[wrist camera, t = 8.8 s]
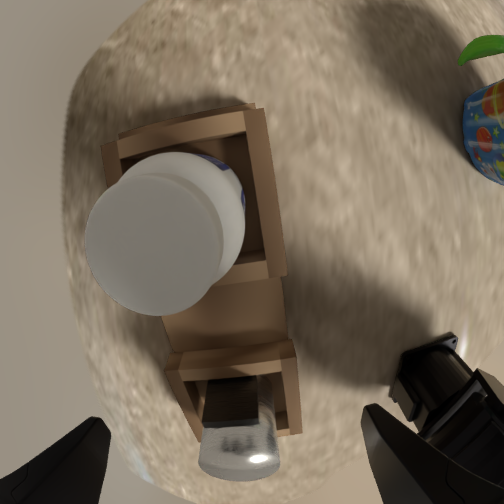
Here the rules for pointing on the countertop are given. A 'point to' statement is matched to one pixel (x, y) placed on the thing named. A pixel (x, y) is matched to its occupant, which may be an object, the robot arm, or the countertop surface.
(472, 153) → the snack cup
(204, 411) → the clear jar
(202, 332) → the holder
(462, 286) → the countertop surface
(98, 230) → the pill bottle
